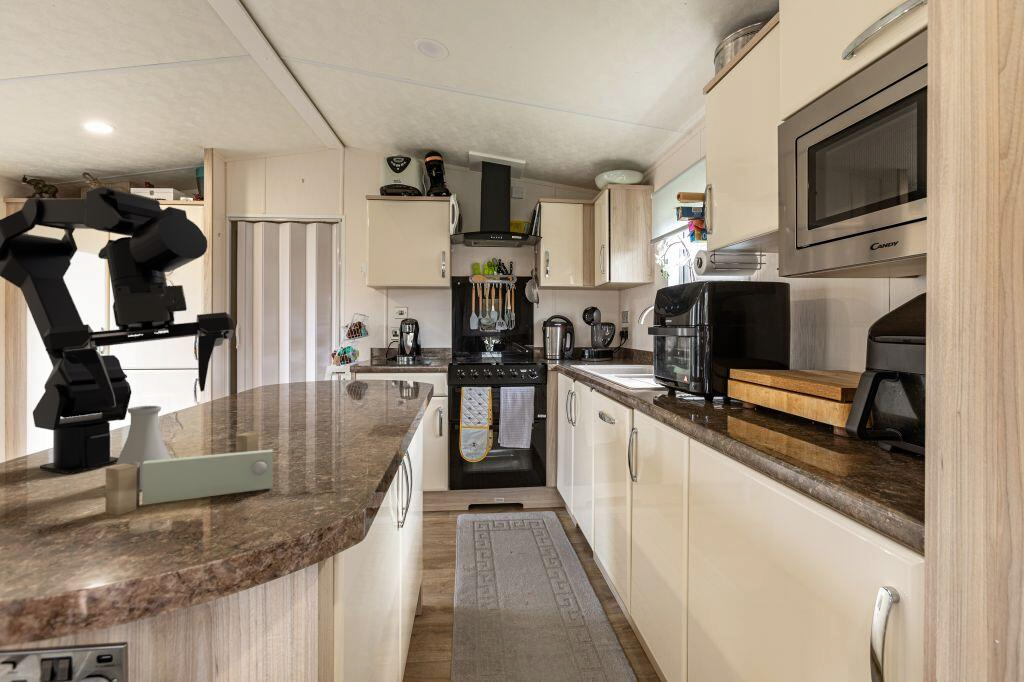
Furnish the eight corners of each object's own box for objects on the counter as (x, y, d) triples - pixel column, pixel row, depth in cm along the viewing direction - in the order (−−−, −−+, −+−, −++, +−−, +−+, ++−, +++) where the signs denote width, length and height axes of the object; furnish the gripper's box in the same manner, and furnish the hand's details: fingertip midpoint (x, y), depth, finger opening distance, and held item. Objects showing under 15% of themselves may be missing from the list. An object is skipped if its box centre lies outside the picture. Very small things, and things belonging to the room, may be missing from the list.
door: (144, 500, 53) (144, 460, 53) (272, 485, 60) (272, 449, 60) (140, 507, 51) (140, 466, 51) (272, 490, 58) (273, 453, 58)
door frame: (105, 512, 50) (105, 467, 50) (247, 465, 69) (247, 432, 68) (118, 515, 50) (119, 469, 50) (257, 466, 68) (258, 433, 68)
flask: (139, 495, 56) (139, 414, 56) (91, 489, 57) (92, 410, 57) (191, 477, 63) (192, 404, 63) (148, 472, 64) (149, 401, 64)
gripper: (21, 265, 48) (43, 409, 47) (226, 259, 60) (248, 375, 58) (46, 295, 57) (66, 417, 56) (220, 285, 69) (240, 387, 67)
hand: (160, 398), depth 59 cm, fingers open, 9 cm apart
